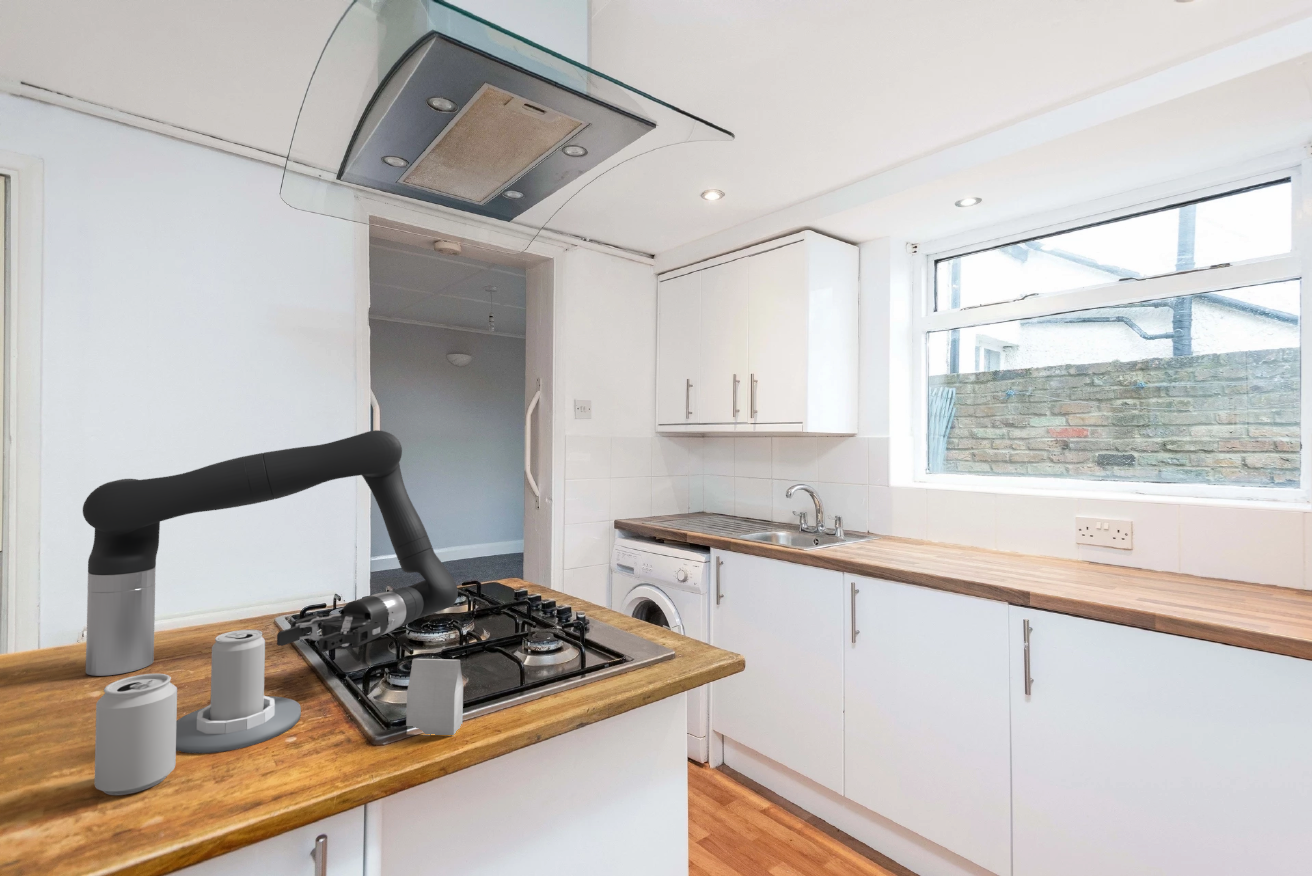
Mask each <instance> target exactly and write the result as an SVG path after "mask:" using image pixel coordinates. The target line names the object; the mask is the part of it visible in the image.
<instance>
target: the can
mask: <svg viewBox="0 0 1312 876" xmlns="http://www.w3.org/2000/svg"><path fill="white" fill-rule="evenodd" d="M171 679H172V677H171V676H170V675H168V674H164V673H146V674H145V673H144V674H138V675H134V676H128V677H124V678H121V679H118V680H116V681H114V682H111V683H108V685H106V686H105V687H104V689H103V692H104V694H103V695H102V696H101V697H100V698H99V699H98V700H97V702H96V703H95V704H96V705H95V707H96V708H95V743H94V744H95V745H94V747H95V750H94V751H95V752H94V784H93V785H94V787H95V789H96V790H99V791H101V792H103V793H104V794H106V795H110V796H123V795H129V794H135V793H138V792H142V791H145V790H147V789H150V788H152V787H155V786H157V785H158V784H160V783H161V782H163V781H164V780H165V779H166V778H167V777H168V776H169V774H171V772H172V771H174V770H175V768H176V760H177V759H176V758H177V757H176V756H177V751H176V721H177V720H178V719H177V717H178V716H177V715H178V714H177V713H178V712H177V711H178V708H177V707H178V687H177V686H176V685H174V683H172V682H171Z"/></svg>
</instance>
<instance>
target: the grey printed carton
mask: <svg viewBox="0 0 1312 876" xmlns="http://www.w3.org/2000/svg"><path fill="white" fill-rule="evenodd" d="M411 660H412V661H411V669H410V673H409V681H408V685H407V689H406V690H407V691H406V714H405V715H406V721H405V724H406V725H405V727H406V726H413V727H416V728H419V729H420V730H422V731H423V732H424V733H425V734H430V735H431V734H435V735H454V734H455V733H456V731H457V730H458V729H459V730H460V728H461V727H462V726H461V724H462V725H463V712H464V711H463V710H464V708H463V707H464V682H463V681H464V680H463V675H462V666H461V659H444V658H440V659H439V658H413V659H411ZM460 726H461V727H460ZM459 730H458V731H459ZM458 731H457V732H458ZM456 734H457V733H456ZM456 734H455V735H456ZM430 735H429V736H430ZM455 735H454V736H455Z"/></svg>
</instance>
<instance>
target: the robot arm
mask: <svg viewBox="0 0 1312 876" xmlns="http://www.w3.org/2000/svg"><path fill="white" fill-rule="evenodd" d="M402 455H403V446H402V444H401V442H400V440H399V439H398V438H397V437H396V436H395V435H393V434H392V433H390V432H388V431H385V430H378V429H376V430H368V431H366V432H362V433H359V434H357V435H353V436H350V437H349V436H348V437H346V438H342V439H338V440H334V441H331V442H328V443H323V444H317V445H309V446H300V447H293V448H285V449H279V450H273V451H265V452H261V453H256V454H255V453H254V454H249V455H244V456H240V457H236V458H232V459H227V460H223V461H220V462H217V463H213V464H209V465H206V466H203V467H199V468H196V469H194V470H191V471H187V472H183V473H178V474H174V475H168V476H160V477H153V478H145V479H136V478H122V479H117V480H113V481H112V480H111V481H109V482H106V483H103V484H101V485H100V486H98V487H97V488H94V490H93V491H91V492H90V493H89V494H88V496H87V497H86V498H85V500H84V502H83V505H82V515H83V518H84V520H85V521H86V523H87V524H89V526H90V527H92V528H93V529H94V536H93V537H94V540H93V545H92V548H91V552H90V554H89V556H88V560H87V596H86V597H87V602H86V603H87V604H86V608H87V609H86V641H85V642H86V644H85V646H86V647H85V649H86V650H85V674H87V675H89V676H97V677H98V676H99V677H100V676H101V677H103V676H112V675H113V676H114V675H121V674H125V673H126V674H128V673H130V672H135V671H138V670H141V669H143V668H147V667H148V666H151V665H152V664H153V663H154V660H155V659H154V657H155V655H154V654H155V653H154V652H155V618H156V617H155V615H156V614H155V613H156V612H155V611H156V607H155V606H156V568H157V567H156V565H157V555H158V551H159V545H160V530H161V529H160V527H161V522H162V521H163V522H164V521H167V520H171V519H174V518H177V517H182V516H185V515H189V514H195V513H201V512H204V513H205V512H212V511H218V510H225V509H226V510H227V509H232V508H239V507H242V506H243V507H244V506H249V505H255V504H259V503H264V502H269V501H274V500H276V499H282V498H284V497H289V496H292V495H294V494H297V493H300V492H302V491H305V490H308V489H310V488H313V487H317V486H318V485H320V484H323V483H327V482H329V481H330V482H331V481H334V480H338V479H343V478H351V477H357V476H362V478H363V480H364V481H365V483H366V484H367V486H368V488H369V489H370V491H371V493H372V495H373V497H374V498H375V501H376V504H377V506H378V508H379V510H380V514H381V516H382V519H383V521H384V525H385V527H386V531H387V533H388V537H389V540H390V542H391V546H392V548H393V550H394V553H395V555H396V557H397V558H396V559H397V560H398V563H399V565H400V568H401V570H402V571H403V572H404V573H407V574H410V573H417V574H419V575H420V576H421V577H422V578H423V579H424V580H422V581H418V582H417V583H413V584H411V585H409V586H407V587H406V586H403V587H399V588H395V589H392V590H388V591H386V592H378V593H375V594H371V595H369V596H364V597H362V598H359V599H356V600H352V601H350V602H348V603H346V605H344V606H343V607H342V609H341V610H340V612H339V613H335V614H331V615H329V616H324V617H323V614H322V613H317V614H314V615H310V616H307V617H303V618H300V619H297V620H293V621H290V628H287V629H283V630H281V631H280V630H279V632H277V634H276V645H278V646H281V647H282V646H286V645H288V644H291V643H294V642H297V641H301V640H305V639H311V640H312V641H318V652H320V653H325V652H326V653H327V651H331V650H334V649H337V648H339V647H344V648H345V647H348V646H350V644H352V647H354V648H355V647H356V648H357V647H360V646H362V645H365V644H367V643H368V642H371V641H374V640H375V639H377V638H380V637H381V636H384V635H385V634H389V633H391V632H392V631H394V630H395V629H397V628H400V627H402V626H405V625H407V624H410V623H412V622H414V621H415V620H417V619H420V618H424V617H426V616H429V615H432V614H436V613H438V612H441V611H444V610H447V609H449V608H450V607H452V606H453V605H455V603H456V602H457V600H458V594H459V592H458V586H457V583H456V580H455V578H454V577H453V576H452V574H451V573H450V572H449V570H448V569H447V568H446V566H445V565H444V564H443V562H442V561H441V559H440V558H439V557H438V556H437V554H436V553H435V551H434V548H433V546H432V543H431V540H430V537H429V535H428V533H427V530H426V528H425V526H424V524H423V521H422V520H421V518H420V516H419V514H418V512H417V510H416V508H415V506H414V505H413V502H412V501H411V498H410V496H409V494H408V492H407V489H406V486H405V483H404V480H403V476H402V471H401V465H400V461H401V459H402ZM319 630H320V633H321V634H318V632H319Z"/></svg>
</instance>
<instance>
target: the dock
mask: <svg viewBox="0 0 1312 876" xmlns="http://www.w3.org/2000/svg"><path fill="white" fill-rule="evenodd" d="M301 706H302V705H300V703H299V702H298V701H296V700H294V699H292V698H289V697H284V696H283V697H282V696H273V695H272V696H271V695H270V696H269V695H267V696H266V695H264V708H263V711H262V712H259V713H256V714H253V715H251V716H248V717H245V718H239V719H234V720H228V721H211V719H210V708H211V704H208V705H207V706H204V707H203V708H199V709H197V710H194V711H191V712H190V713H188V714H186V715H184V716H182V717H179V719H176V752H179V751H181V752H180V753H184V754H213V753H215V754H216V753H220V752H221V753H222V752H229V751H235V750H238V749H243V748H247V747H251V746H255V745H257V744H260V743H263V742H266V741H268V740H269V741H270V740H271V739H273V738H275V737H278V736H281V735H282V734H284V733H286V732H287V731H289V730H290V729H292V728H293V727H295V725H296V724H297V723H298V722H299V721H300V718H301V715H302V712H301V710H302V707H301Z"/></svg>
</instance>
